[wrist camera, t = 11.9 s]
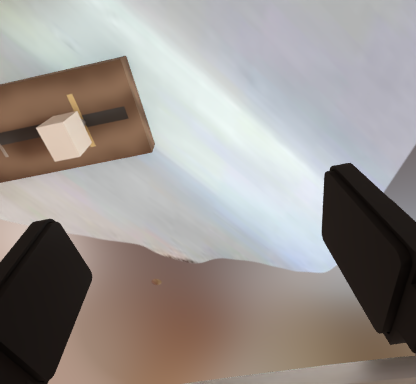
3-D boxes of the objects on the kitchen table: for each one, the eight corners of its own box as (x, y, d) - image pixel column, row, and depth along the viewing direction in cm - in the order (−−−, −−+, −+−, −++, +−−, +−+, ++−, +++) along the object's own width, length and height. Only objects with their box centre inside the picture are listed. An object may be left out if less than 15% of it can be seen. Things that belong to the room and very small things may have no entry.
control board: (-50, 95, 35) (-69, 101, 33) (126, 55, 33) (120, 58, 31) (5, 174, 42) (-7, 184, 39) (154, 144, 40) (151, 152, 37)
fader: (62, 109, 33) (35, 127, 28) (85, 104, 33) (62, 122, 28) (76, 139, 36) (54, 161, 30) (98, 135, 35) (80, 156, 30)
